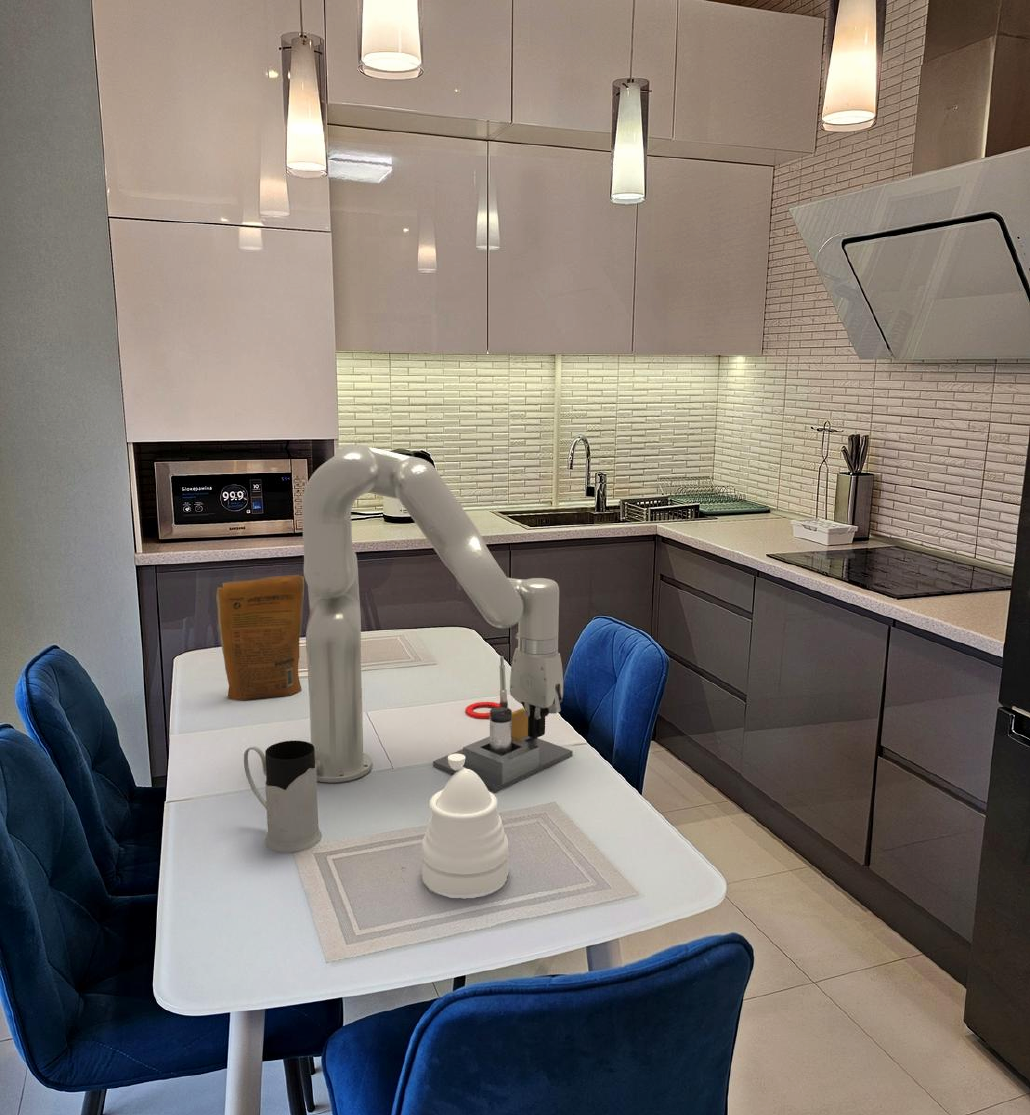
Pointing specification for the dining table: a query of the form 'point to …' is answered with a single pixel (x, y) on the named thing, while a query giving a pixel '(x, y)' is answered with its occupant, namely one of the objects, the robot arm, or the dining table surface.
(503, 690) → the tow hook
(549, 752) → the plate
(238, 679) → the pancake mix bag
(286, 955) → the dining table surface
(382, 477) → the robot arm
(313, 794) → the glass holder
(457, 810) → the honey pot
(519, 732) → the tab
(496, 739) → the pin
